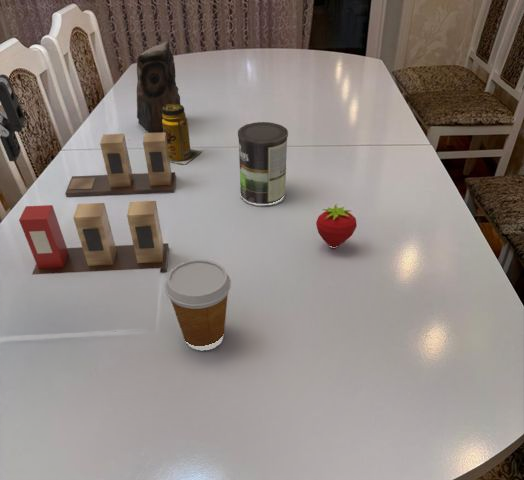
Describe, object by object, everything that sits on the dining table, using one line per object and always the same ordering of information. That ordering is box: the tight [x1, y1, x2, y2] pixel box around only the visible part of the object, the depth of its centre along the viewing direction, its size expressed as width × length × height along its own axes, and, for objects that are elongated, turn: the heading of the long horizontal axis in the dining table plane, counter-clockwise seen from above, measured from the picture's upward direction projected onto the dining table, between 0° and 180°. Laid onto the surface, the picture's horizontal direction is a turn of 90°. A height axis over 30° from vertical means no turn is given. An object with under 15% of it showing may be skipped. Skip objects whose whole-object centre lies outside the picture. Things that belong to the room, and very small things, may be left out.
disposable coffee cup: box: [164, 259, 232, 346], centre depth 75 cm, size 10×10×12 cm
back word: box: [65, 132, 177, 198], centre depth 111 cm, size 24×8×11 cm, turn 94°
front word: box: [31, 200, 170, 275], centre depth 90 cm, size 24×8×11 cm, turn 94°
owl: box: [136, 40, 182, 133], centre depth 131 cm, size 13×13×20 cm
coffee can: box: [237, 121, 289, 207], centre depth 106 cm, size 10×10×14 cm
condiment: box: [162, 103, 203, 165], centre depth 121 cm, size 7×8×12 cm
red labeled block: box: [18, 204, 68, 268], centre depth 89 cm, size 5×5×10 cm
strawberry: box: [315, 203, 358, 247], centre depth 93 cm, size 6×8×10 cm
